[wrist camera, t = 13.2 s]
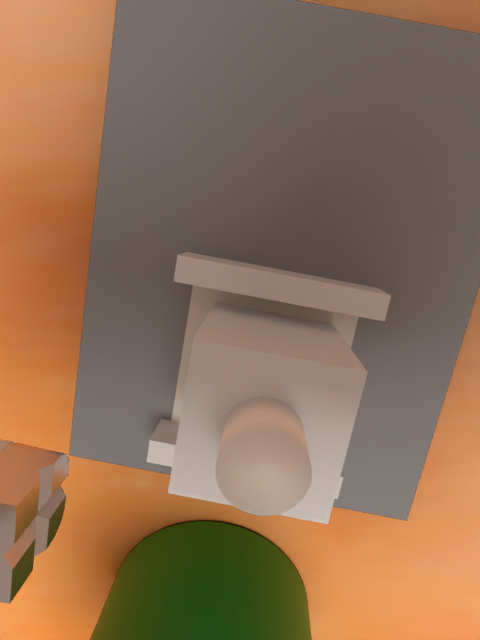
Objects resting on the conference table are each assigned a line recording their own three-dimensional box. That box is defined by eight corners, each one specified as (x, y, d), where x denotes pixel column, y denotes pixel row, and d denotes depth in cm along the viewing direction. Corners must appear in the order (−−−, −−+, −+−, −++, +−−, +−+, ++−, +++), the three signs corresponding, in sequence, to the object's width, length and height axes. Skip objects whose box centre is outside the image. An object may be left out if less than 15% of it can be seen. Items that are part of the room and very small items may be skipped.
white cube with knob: (215, 302, 18) (180, 360, 10) (333, 324, 18) (388, 400, 10) (196, 411, 19) (151, 539, 11) (307, 432, 19) (339, 576, 11)
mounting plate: (126, -20, 17) (100, -69, 14) (539, 55, 16) (594, 21, 14) (76, 446, 21) (48, 479, 18) (401, 509, 21) (422, 552, 18)
